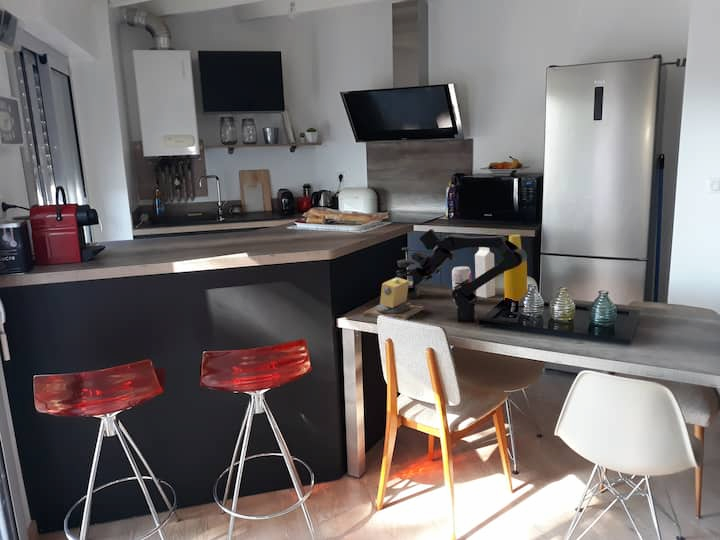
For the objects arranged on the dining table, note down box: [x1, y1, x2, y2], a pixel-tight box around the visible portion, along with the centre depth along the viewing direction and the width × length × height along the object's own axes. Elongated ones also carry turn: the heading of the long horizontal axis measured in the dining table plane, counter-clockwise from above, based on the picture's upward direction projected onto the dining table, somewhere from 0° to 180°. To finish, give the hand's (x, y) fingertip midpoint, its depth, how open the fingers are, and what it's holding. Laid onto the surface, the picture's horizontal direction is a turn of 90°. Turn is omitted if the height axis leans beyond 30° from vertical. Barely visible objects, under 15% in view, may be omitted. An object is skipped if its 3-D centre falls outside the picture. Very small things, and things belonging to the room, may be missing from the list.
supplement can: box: [451, 265, 472, 302], centre depth 247 cm, size 8×8×15 cm
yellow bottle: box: [503, 234, 528, 301], centre depth 235 cm, size 9×9×29 cm
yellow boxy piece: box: [379, 276, 410, 308], centre depth 237 cm, size 6×13×10 cm, turn 148°
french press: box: [395, 247, 420, 299], centre depth 262 cm, size 12×9×23 cm
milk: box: [474, 247, 496, 299], centre depth 253 cm, size 6×6×22 cm
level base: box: [362, 301, 425, 320], centre depth 239 cm, size 20×16×4 cm
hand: (413, 284), depth 231 cm, fingers closed
